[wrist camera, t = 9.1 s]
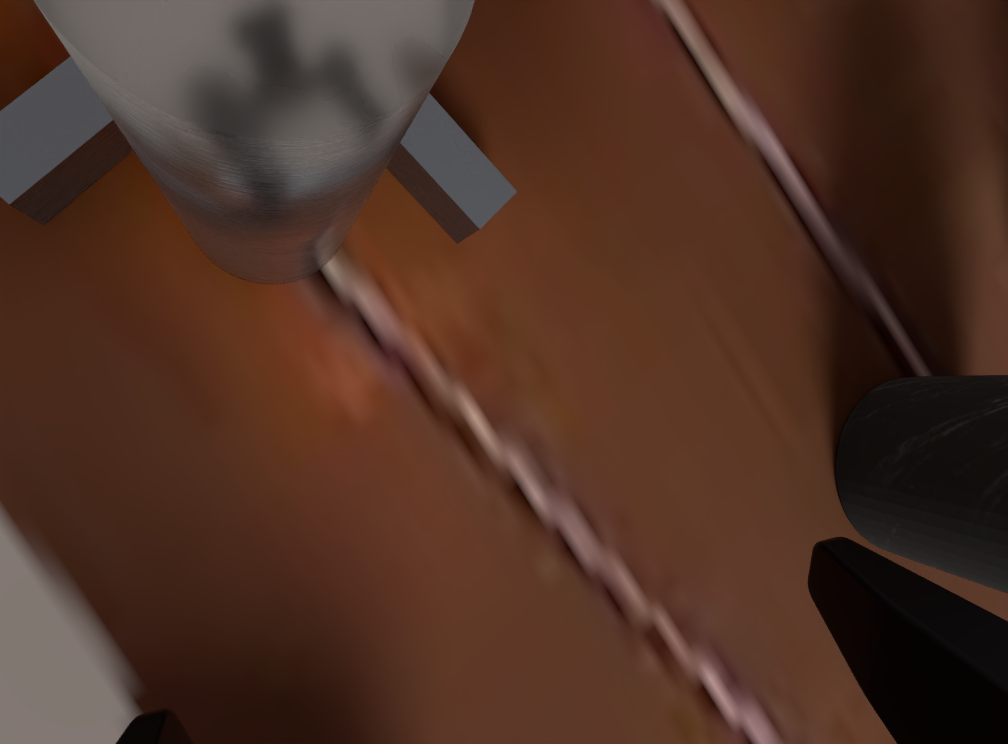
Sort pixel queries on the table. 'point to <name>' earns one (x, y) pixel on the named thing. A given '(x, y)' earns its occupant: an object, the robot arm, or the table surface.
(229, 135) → the grey metallic cylinder
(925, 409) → the travel mug
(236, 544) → the table surface
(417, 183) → the grey flat branched piece
